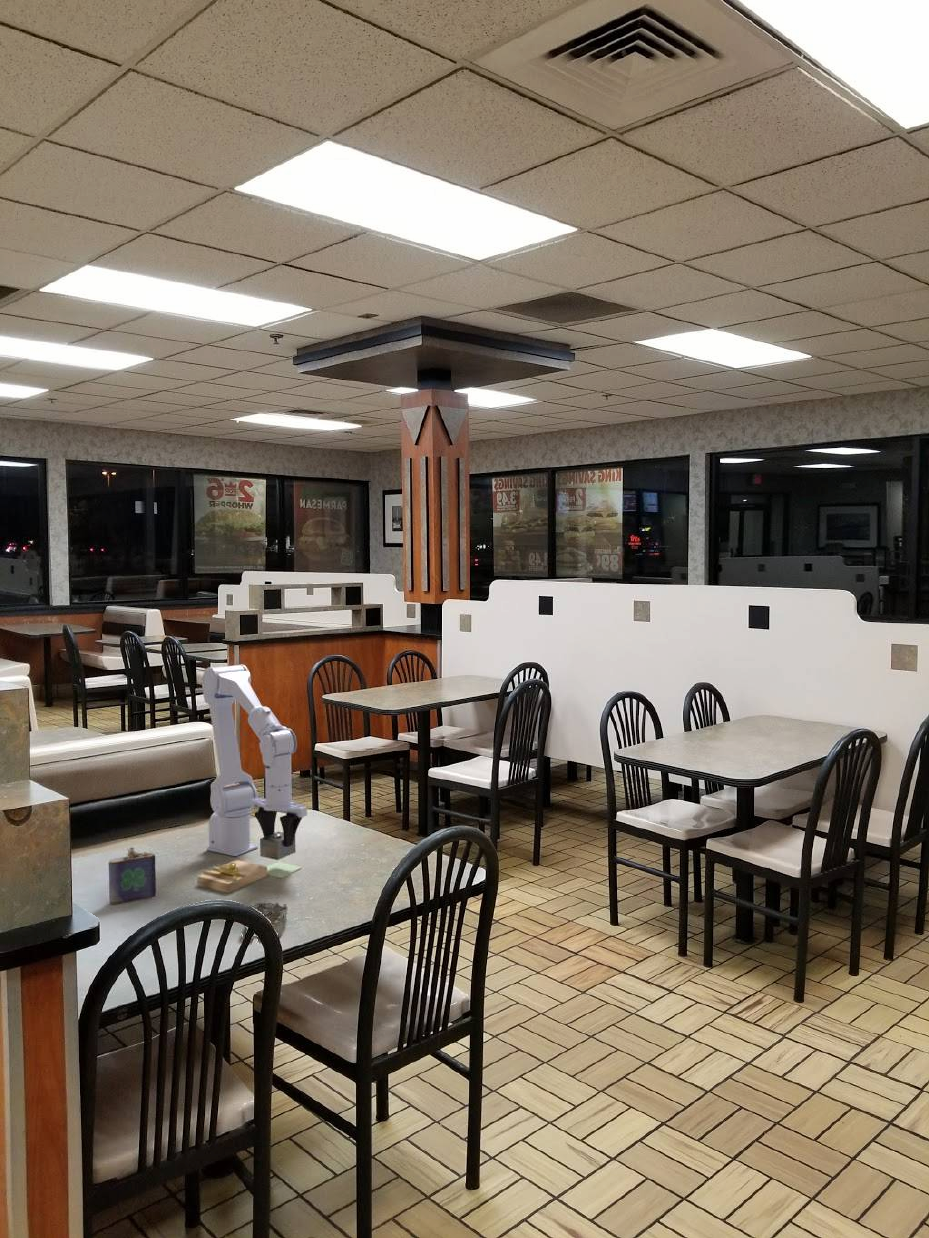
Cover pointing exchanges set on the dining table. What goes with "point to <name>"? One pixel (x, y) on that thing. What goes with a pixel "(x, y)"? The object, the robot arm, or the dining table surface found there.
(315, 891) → the dining table surface
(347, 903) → the dining table surface
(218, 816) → the robot arm
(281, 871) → the mat
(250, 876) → the wooden tray with rails
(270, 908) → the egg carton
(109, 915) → the dining table surface
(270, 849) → the metal box with knob
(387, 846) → the dining table surface
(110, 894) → the flask
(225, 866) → the bolt
